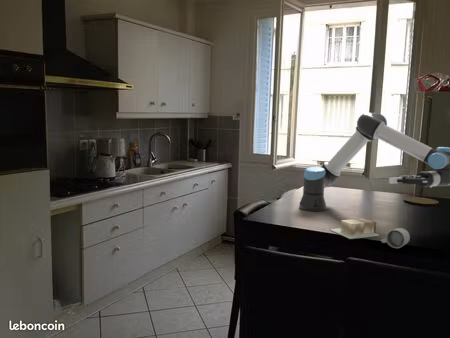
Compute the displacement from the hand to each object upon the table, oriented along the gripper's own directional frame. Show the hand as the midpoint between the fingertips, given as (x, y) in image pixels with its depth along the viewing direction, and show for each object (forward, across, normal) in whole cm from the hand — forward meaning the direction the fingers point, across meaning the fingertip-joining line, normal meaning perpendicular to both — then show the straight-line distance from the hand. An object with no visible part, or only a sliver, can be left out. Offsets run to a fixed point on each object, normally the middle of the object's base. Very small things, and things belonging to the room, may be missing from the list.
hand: (390, 180), depth 189 cm
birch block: (+10, 0, -21) cm, 23 cm away
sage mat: (+19, 0, -24) cm, 30 cm away
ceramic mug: (+14, -20, -24) cm, 34 cm away
